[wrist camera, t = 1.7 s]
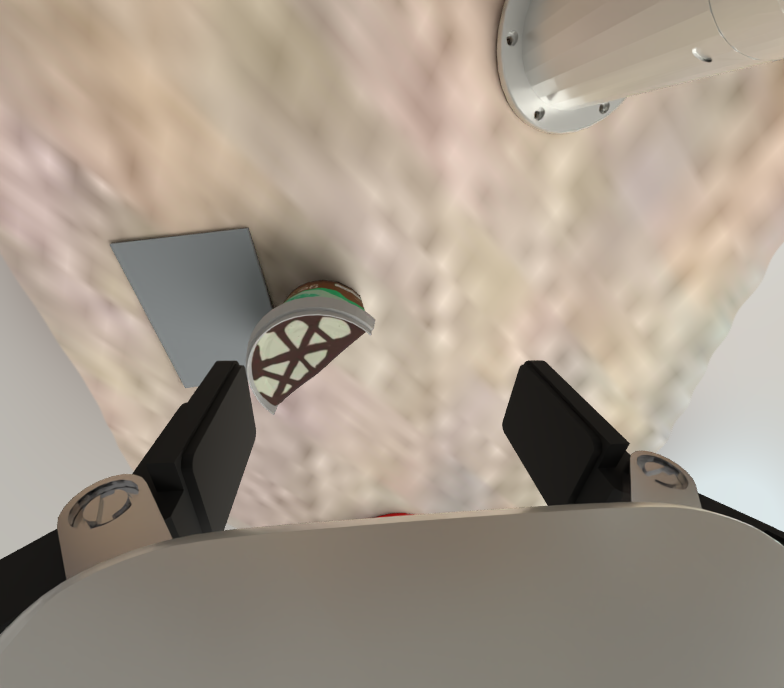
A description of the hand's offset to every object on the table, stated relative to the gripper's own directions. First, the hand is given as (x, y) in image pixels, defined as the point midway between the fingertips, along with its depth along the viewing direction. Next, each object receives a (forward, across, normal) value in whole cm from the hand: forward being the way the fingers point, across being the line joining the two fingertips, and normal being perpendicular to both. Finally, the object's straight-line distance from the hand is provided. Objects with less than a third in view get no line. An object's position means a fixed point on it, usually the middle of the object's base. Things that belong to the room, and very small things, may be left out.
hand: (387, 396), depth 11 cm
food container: (+23, +6, +6) cm, 25 cm away
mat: (+23, +15, +7) cm, 29 cm away
